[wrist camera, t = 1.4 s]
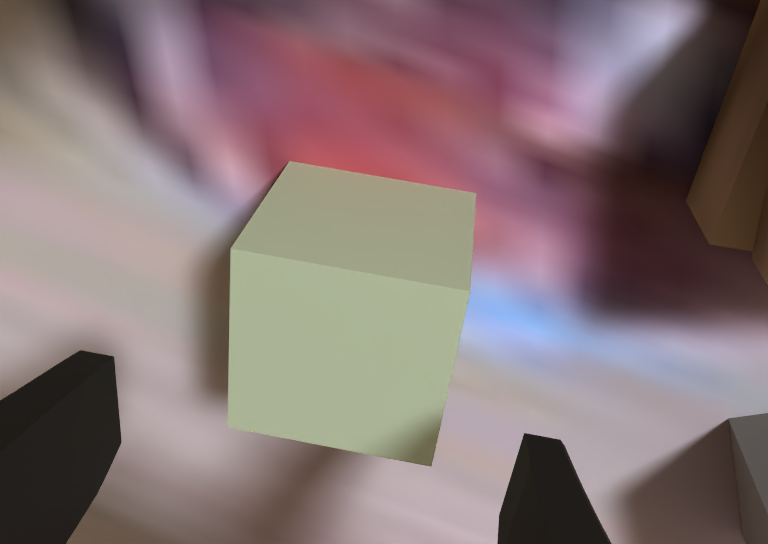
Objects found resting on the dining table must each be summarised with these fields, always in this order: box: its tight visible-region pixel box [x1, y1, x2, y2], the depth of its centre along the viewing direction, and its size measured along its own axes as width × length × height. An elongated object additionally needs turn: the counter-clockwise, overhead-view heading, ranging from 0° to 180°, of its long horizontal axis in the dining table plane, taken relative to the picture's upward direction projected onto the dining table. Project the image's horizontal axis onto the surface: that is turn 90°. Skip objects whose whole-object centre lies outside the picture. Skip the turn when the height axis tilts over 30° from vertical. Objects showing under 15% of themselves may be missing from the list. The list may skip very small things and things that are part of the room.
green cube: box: [228, 161, 476, 466], centre depth 16 cm, size 4×4×4 cm
